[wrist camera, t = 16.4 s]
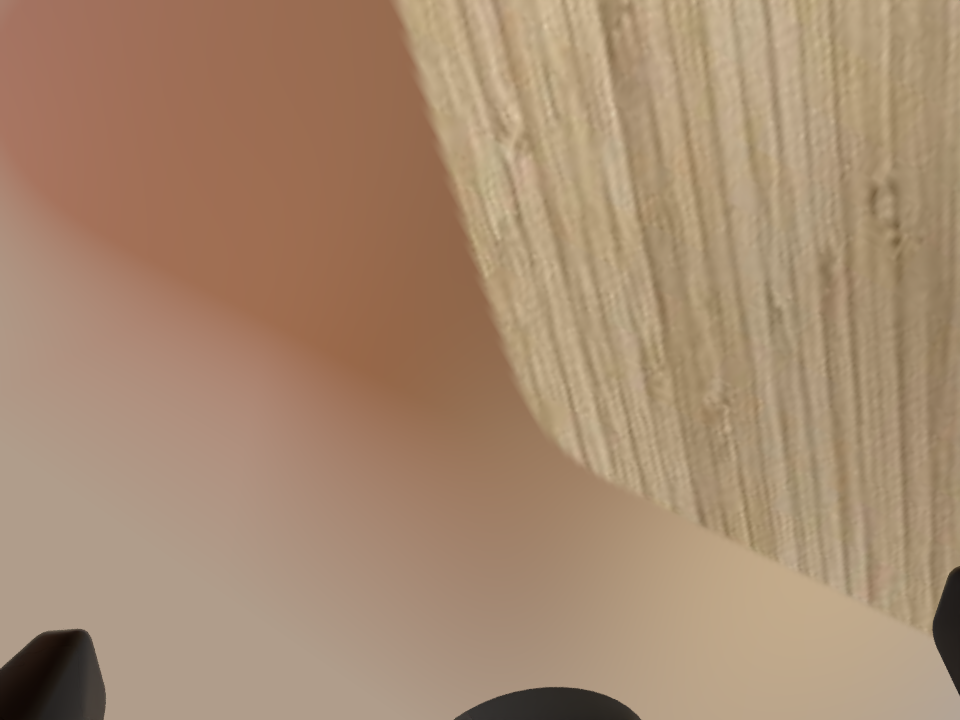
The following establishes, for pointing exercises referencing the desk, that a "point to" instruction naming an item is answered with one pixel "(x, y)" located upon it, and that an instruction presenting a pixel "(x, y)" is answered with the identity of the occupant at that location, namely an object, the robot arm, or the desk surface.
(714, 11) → the desk surface
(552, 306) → the desk surface
